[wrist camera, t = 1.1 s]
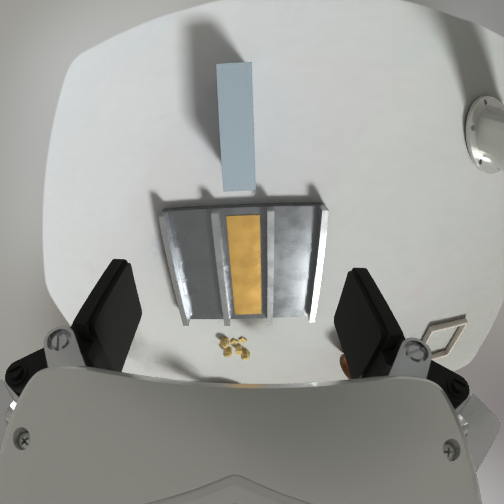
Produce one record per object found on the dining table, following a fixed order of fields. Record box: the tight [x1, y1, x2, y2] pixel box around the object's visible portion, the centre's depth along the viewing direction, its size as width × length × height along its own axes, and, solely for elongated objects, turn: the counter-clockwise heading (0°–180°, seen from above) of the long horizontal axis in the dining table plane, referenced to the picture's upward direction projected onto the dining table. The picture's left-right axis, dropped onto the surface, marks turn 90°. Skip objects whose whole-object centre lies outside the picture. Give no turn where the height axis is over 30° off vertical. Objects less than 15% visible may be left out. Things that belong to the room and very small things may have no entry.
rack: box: [158, 203, 329, 326], centre depth 36 cm, size 20×18×2 cm
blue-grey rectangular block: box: [216, 62, 256, 191], centre depth 25 cm, size 3×12×7 cm, turn 2°
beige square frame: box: [422, 318, 468, 360], centre depth 48 cm, size 12×12×2 cm
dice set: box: [220, 337, 250, 360], centre depth 46 cm, size 5×5×2 cm
